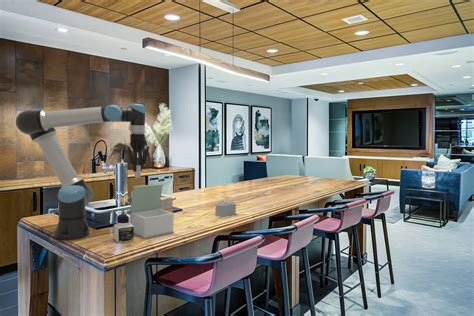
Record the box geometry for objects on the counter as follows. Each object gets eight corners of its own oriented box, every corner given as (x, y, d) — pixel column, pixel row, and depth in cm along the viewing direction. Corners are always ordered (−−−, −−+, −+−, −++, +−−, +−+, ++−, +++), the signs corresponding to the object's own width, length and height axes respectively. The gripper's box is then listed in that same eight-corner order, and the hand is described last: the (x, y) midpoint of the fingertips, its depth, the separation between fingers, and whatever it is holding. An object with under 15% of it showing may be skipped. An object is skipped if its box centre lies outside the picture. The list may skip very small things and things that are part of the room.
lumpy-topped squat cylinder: (237, 214, 214) (238, 201, 214) (222, 218, 205) (222, 203, 205) (226, 211, 222) (226, 198, 221) (211, 214, 213) (211, 201, 212)
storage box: (144, 239, 162) (144, 218, 161) (131, 232, 172) (131, 212, 171) (173, 232, 173) (173, 213, 172) (159, 226, 183) (159, 208, 182)
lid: (134, 187, 167) (133, 186, 168) (131, 212, 171) (130, 211, 172) (162, 184, 178) (161, 183, 179) (159, 208, 182) (158, 207, 183)
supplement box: (167, 217, 202) (167, 196, 201) (172, 219, 199) (172, 197, 198) (156, 220, 196) (156, 198, 195) (161, 221, 193) (161, 199, 192)
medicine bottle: (118, 243, 155) (118, 217, 154) (113, 239, 161) (113, 214, 160) (133, 240, 159) (133, 215, 158) (128, 236, 165) (128, 212, 164)
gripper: (128, 133, 173) (128, 179, 174) (152, 133, 182) (152, 177, 184) (122, 133, 178) (122, 177, 180) (145, 133, 188) (145, 175, 189)
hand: (137, 177), depth 182 cm, fingers closed
